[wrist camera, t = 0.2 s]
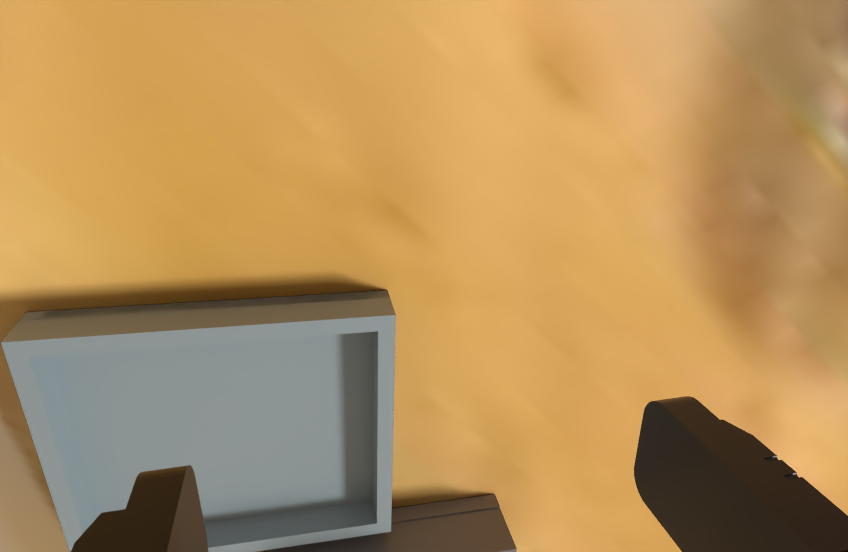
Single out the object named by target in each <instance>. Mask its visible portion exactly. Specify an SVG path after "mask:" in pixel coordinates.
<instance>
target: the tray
mask: <svg viewBox="0 0 848 552" xmlns="http://www.w3.org/2000/svg"><path fill="white" fill-rule="evenodd" d="M395 323H396V314H395V312H394V309H393V306H392V303H391V300H390V297H389V294H388V291H387V290H383V291H366V292H350V293H333V294H317V295H300V296H284V297H267V298H251V299H234V300H218V301H201V302H185V303H168V304H152V305H135V306H119V307H102V308H86V309H69V310H53V311H36V312H26V313H25V314H24V315H23V316H22V317H21V319H20V320H19V321H18V322H17V323H16V325H15V326H14V327H13V328H12V330H11V331H10V332H9V333H8V334H7V336H6V337H5V338H4V339H3V340H2V342H1V345H2V348H3V351H4V354H5V357H6V360H7V363H8V366H9V369H10V372H11V375H12V378H13V381H14V384H15V387H16V390H17V393H18V397H19V400H20V403H21V406H22V409H23V412H24V415H25V418H26V421H27V424H28V427H29V430H30V433H31V436H32V439H33V442H34V445H35V448H36V451H37V454H38V457H39V460H40V463H41V466H42V469H43V472H44V475H45V479H46V482H47V485H48V488H49V491H50V494H51V497H52V500H53V503H54V506H55V509H56V512H57V515H58V518H59V521H60V524H61V527H62V530H63V533H64V536H65V539H66V542H67V545H68V548H69V551H70V552H71V550H72V548H73V545H74V543H75V542H76V541H77V540H78V538H79V537H80V536H81V535H82V534H83V533H84V532H85V531H86V530H87V528H88V527H89V526H90V525H91V524H92V523H93V522H94V521H95V519H96V518H97V517H98V516H99V515H100V514H101V513H103V512H110V511H116V510H123V509H126V506H127V503H128V500H129V497H130V495H131V492H132V489H133V486H134V483H135V480H136V478H137V476H138V474H139V473H140V472H145V471H152V470H159V469H166V468H173V467H180V466H187V465H191V466H192V468H193V470H194V473H195V478H196V483H197V488H198V493H199V499H200V504H201V509H202V514H203V519H204V524H205V530H206V535H207V542H208V552H257V551H264V550H271V549H277V548H284V547H291V546H298V545H304V544H311V543H318V542H325V541H331V540H338V539H345V538H352V537H359V536H365V535H372V534H379V533H386V532H391V513H392V465H393V418H394V370H395Z"/></svg>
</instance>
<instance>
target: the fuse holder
mask: <svg viewBox="0 0 848 552" xmlns="http://www.w3.org/2000/svg"><path fill="white" fill-rule="evenodd" d="M264 552H516V546H515V544H514V541H513V539H512V537H511V534H510V532H509V529H508V527H507V524H506V522H505V519H504V517H503V515H502V512H501V510H500V506H499V503H498V501H497V499H496V496H495V494H492V495H485V496H478V497H471V498H463V499H456V500H449V501H442V502H435V503H428V504H420V505H413V506H406V507H399V508H392V513H391V532H386V533H379V534H372V535H365V536H359V537H352V538H345V539H338V540H331V541H325V542H318V543H311V544H304V545H298V546H291V547H284V548H277V549H271V550H264Z"/></svg>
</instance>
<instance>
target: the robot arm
mask: <svg viewBox="0 0 848 552" xmlns="http://www.w3.org/2000/svg"><path fill="white" fill-rule="evenodd" d="M634 476H635V482H636V486H637V489H638V492H639V494H640V496H641V498H642V500H643V501H644V503H645V504H646V505H647V507H648V508H649V509H650V511H651V512H652V513H653V514H654V516H655V517H656V518H657V520H658V521H659V522H660V524H661V525H662V526H663V527H664V529H665V530H666V531H667V533H668V534H669V535H670V536H671V538H672V539H673V540H674V542H675V543H676V544H677V546H678V547H679V548H680V549H681V551H682V552H848V516H847V515H846V514H845V513H844V512H843V511H841V510H840V509H839V508H838V507H837V506H835V505H834V504H833V503H832V502H831V501H830V500H828V499H827V498H826V497H825V496H824V495H822V494H821V493H820V492H819V491H818V490H817V489H815V488H814V487H813V486H812V485H811V484H810V483H808V482H807V481H806V480H805V479H804V478H802V477H800V478H799V477H798V476H797V472H795V471H794V470H793V469H792V468H791V467H789V466H788V465H787V464H786V463H785V462H784V461H782V460H778V459H777V455H775V454H774V453H773V452H772V451H771V450H769V449H768V448H767V447H766V446H765V445H764V444H762V443H761V442H760V441H759V440H758V439H756V438H755V437H754V436H753V435H751V434H749V433H747V432H745V431H743V430H742V429H740V428H738V427H736V426H734V425H732V424H730V423H728V422H726V421H724V420H719V419H718V418H717V417H716V416H715V415H714V414H713V413H711V412H710V411H709V410H708V409H707V408H706V407H705V406H703V405H702V404H701V403H700V402H699V401H698V400H696V399H695V398H693V397H689V396H686V397H679V398H672V399H665V400H658V401H652V402H649V403H648V404H647V406H646V407H645V410H644V414H643V420H642V425H641V431H640V437H639V443H638V448H637V454H636V460H635V466H634ZM71 552H208V542H207V535H206V530H205V524H204V519H203V514H202V509H201V504H200V499H199V493H198V488H197V483H196V478H195V473H194V470H193V468H192V466H191V465H187V466H180V467H173V468H166V469H159V470H152V471H145V472H140V473H139V474H138V476H137V478H136V480H135V483H134V486H133V489H132V492H131V495H130V497H129V500H128V503H127V506H126V509H123V510H116V511H110V512H103V513H101V514H100V515H99V516H98V517H97V518H96V519H95V521H94V522H93V523H92V524H91V525H90V526H89V527H88V528H87V530H86V531H85V532H84V533H83V534H82V535H81V536H80V537H79V538H78V540H77V541H76V542H75V543H74V545H73V548H72V550H71Z"/></svg>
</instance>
